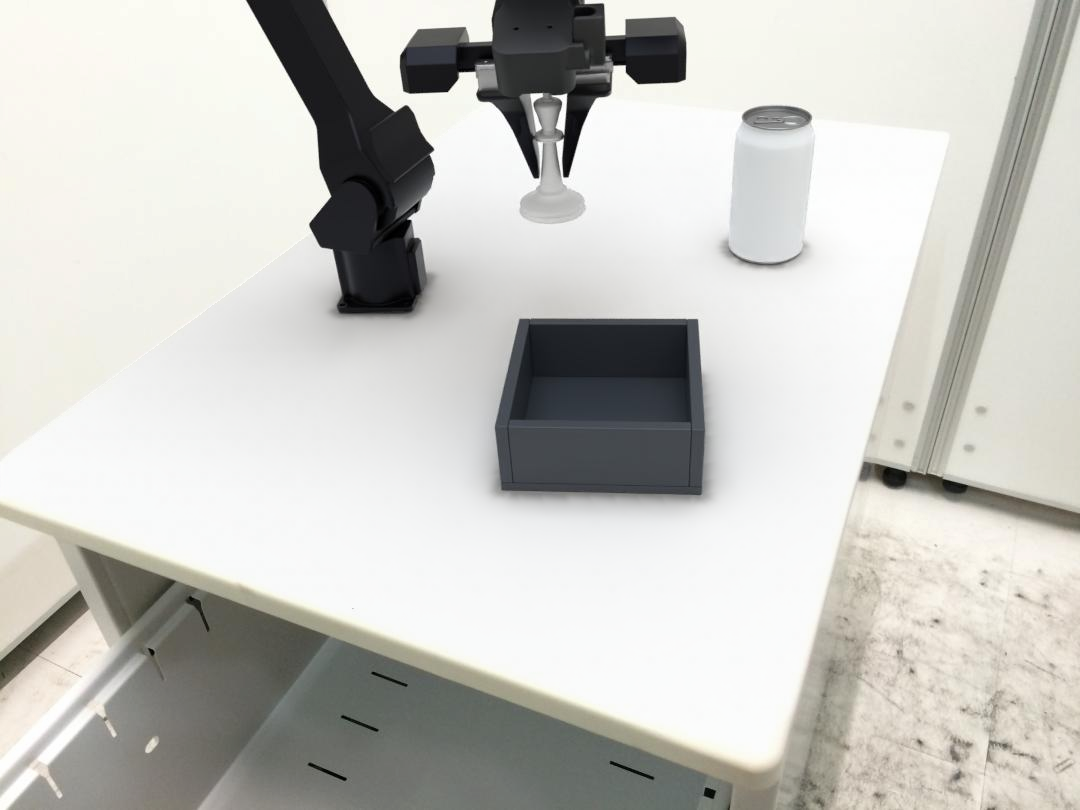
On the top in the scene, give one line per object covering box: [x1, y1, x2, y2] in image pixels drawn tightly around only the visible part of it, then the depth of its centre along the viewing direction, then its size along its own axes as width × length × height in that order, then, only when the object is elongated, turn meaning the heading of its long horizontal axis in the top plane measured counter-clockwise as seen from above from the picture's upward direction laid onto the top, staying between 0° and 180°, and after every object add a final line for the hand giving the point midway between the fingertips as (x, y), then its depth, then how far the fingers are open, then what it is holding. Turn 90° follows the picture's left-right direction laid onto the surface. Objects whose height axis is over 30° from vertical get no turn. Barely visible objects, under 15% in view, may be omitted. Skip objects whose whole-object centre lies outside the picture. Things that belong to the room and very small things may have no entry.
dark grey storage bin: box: [494, 317, 706, 495], centre depth 63 cm, size 13×13×5 cm
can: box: [728, 104, 816, 265], centre depth 80 cm, size 6×6×12 cm
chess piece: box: [518, 93, 587, 225], centre depth 67 cm, size 5×5×10 cm
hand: (551, 176), depth 68 cm, fingers closed on chess piece
